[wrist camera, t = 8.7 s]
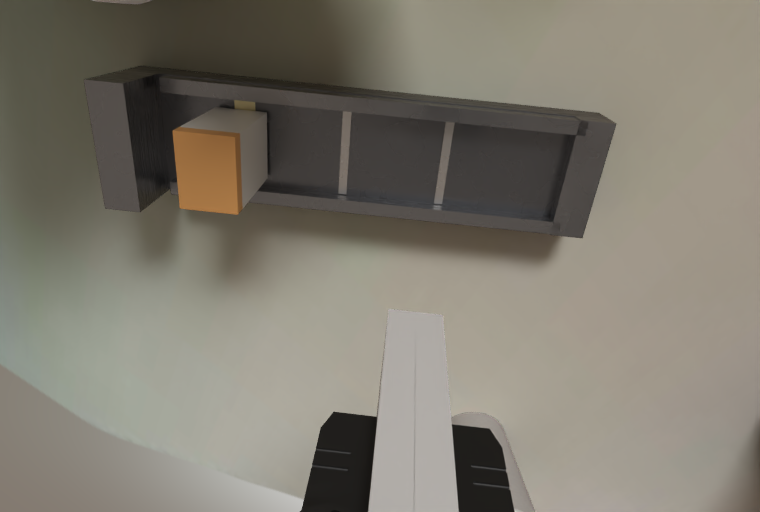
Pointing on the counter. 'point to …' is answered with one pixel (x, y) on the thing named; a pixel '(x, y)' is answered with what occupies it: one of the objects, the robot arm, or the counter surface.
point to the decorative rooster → (124, 1)
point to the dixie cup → (517, 486)
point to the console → (361, 149)
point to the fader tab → (221, 159)
